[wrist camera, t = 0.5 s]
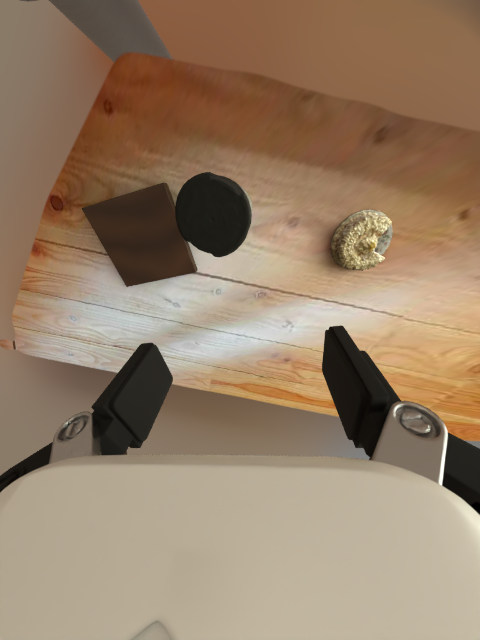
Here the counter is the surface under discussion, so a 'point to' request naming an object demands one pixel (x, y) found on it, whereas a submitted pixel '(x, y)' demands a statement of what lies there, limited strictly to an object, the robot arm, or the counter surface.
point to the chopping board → (142, 235)
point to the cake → (362, 240)
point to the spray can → (213, 213)
